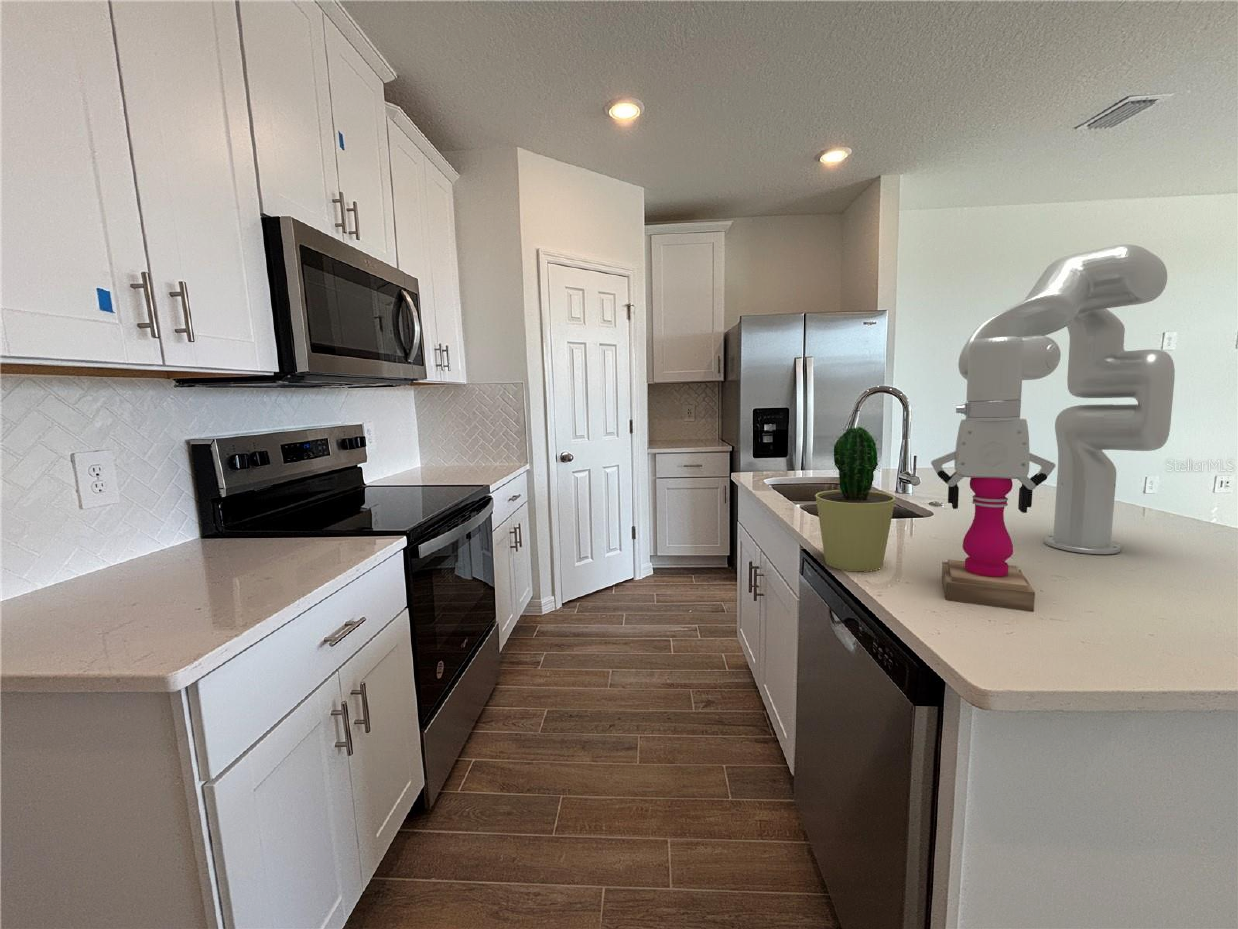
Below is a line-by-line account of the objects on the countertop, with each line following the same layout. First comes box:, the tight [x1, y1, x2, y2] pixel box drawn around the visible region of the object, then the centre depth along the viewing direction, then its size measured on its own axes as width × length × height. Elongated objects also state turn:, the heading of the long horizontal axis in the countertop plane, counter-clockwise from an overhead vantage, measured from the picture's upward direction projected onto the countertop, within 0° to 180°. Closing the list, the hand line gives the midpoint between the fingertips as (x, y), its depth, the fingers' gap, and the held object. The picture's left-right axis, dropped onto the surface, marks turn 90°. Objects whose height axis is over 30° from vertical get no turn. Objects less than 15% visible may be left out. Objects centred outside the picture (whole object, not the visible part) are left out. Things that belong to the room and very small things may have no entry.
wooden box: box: [941, 559, 1036, 612], centre depth 90 cm, size 12×12×4 cm
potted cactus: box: [814, 426, 896, 573], centre depth 107 cm, size 15×15×30 cm
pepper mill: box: [962, 478, 1014, 577], centre depth 88 cm, size 7×7×20 cm
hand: (987, 509), depth 88 cm, fingers open, 9 cm apart
